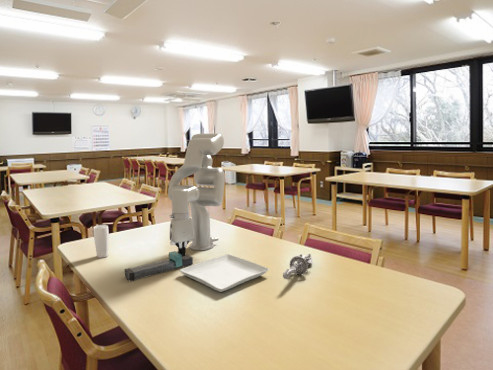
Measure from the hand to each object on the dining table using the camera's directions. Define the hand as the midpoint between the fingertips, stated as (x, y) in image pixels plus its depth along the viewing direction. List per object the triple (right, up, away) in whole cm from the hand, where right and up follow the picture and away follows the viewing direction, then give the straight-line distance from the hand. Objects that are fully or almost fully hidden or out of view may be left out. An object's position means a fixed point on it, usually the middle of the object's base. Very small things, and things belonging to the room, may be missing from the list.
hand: (182, 255), depth 157 cm
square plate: (+20, -7, -12) cm, 24 cm away
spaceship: (+51, -6, -11) cm, 52 cm away
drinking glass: (-41, -3, +13) cm, 43 cm away
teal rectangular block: (-3, -4, -1) cm, 5 cm away
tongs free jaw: (-12, -5, -7) cm, 15 cm away
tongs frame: (-8, -5, -6) cm, 11 cm away
